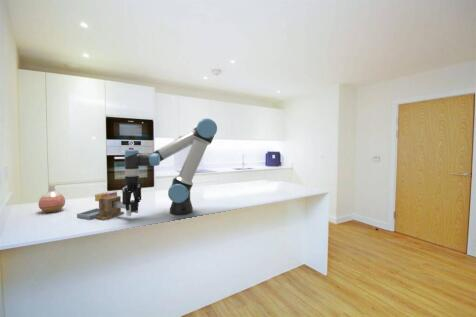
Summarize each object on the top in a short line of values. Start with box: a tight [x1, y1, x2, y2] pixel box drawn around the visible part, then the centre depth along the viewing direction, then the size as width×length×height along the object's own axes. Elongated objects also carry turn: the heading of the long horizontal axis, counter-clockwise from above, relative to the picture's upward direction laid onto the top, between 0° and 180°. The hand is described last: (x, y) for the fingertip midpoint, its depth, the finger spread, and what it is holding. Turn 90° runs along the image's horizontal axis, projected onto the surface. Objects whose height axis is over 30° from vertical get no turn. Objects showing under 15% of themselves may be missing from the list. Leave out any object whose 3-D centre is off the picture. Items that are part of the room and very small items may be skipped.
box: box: [104, 190, 118, 196], centre depth 155 cm, size 10×6×12 cm, turn 168°
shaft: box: [112, 199, 139, 214], centre depth 139 cm, size 26×5×6 cm, turn 72°
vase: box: [38, 184, 66, 214], centre depth 149 cm, size 14×14×18 cm
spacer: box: [94, 192, 109, 202], centre depth 143 cm, size 5×6×4 cm
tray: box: [76, 207, 99, 221], centre depth 142 cm, size 11×13×2 cm
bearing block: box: [95, 195, 125, 221], centre depth 141 cm, size 7×14×12 cm, turn 162°
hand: (132, 213), depth 136 cm, fingers closed on shaft, 5 cm apart
